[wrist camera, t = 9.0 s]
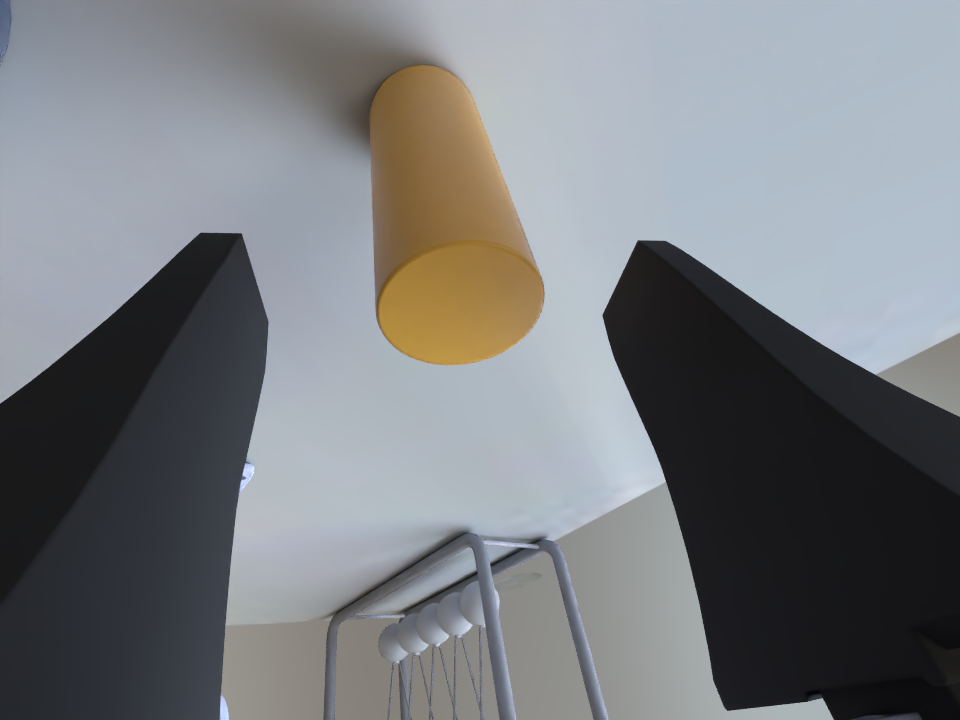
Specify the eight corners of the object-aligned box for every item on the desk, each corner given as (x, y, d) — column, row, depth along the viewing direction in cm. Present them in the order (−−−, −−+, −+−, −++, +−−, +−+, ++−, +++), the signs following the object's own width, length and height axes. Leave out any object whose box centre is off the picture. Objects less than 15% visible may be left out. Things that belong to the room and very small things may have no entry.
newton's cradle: (402, 615, 60) (411, 797, 49) (326, 618, 55) (317, 825, 43) (560, 532, 44) (628, 779, 33) (475, 523, 38) (523, 819, 27)
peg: (439, 193, 14) (477, 381, 10) (350, 139, 13) (344, 337, 8) (498, 109, 13) (579, 289, 8) (406, 36, 11) (440, 208, 6)
